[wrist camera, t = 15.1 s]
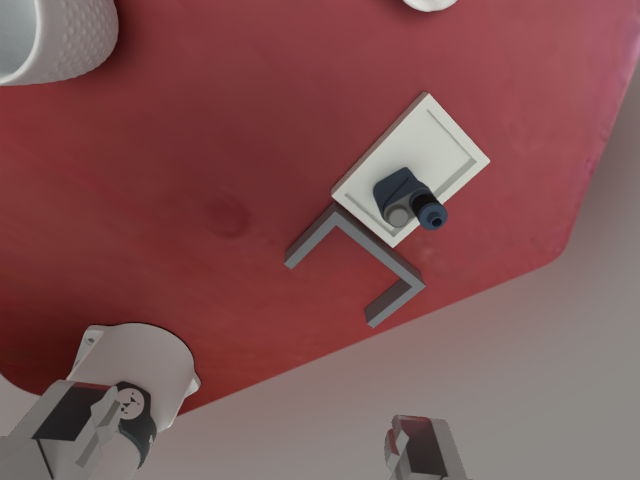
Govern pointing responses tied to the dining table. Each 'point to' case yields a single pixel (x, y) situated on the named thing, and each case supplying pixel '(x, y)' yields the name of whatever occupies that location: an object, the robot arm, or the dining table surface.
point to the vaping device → (408, 201)
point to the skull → (429, 4)
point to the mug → (54, 39)
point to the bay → (409, 275)
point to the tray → (411, 164)
